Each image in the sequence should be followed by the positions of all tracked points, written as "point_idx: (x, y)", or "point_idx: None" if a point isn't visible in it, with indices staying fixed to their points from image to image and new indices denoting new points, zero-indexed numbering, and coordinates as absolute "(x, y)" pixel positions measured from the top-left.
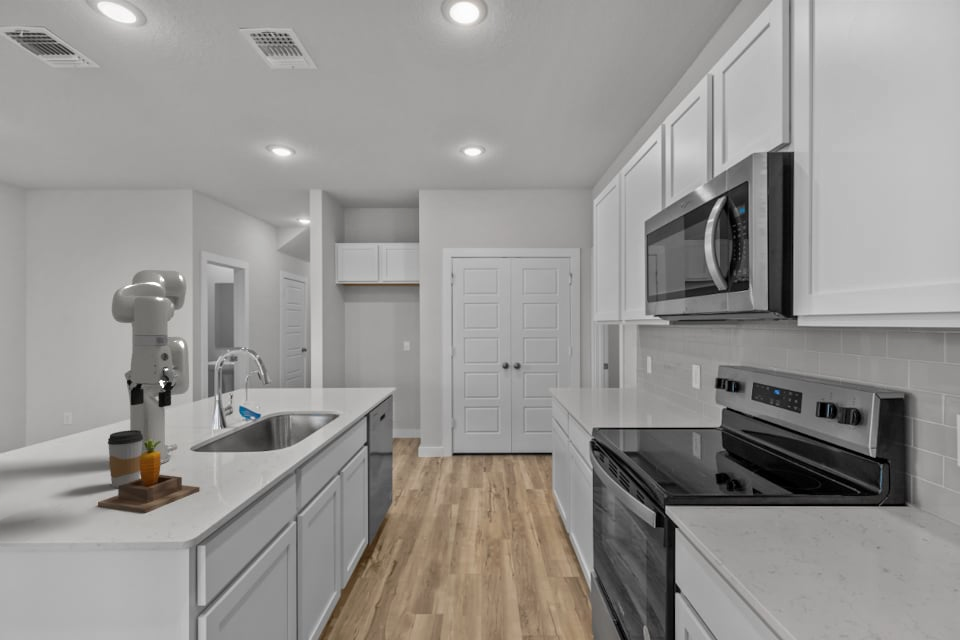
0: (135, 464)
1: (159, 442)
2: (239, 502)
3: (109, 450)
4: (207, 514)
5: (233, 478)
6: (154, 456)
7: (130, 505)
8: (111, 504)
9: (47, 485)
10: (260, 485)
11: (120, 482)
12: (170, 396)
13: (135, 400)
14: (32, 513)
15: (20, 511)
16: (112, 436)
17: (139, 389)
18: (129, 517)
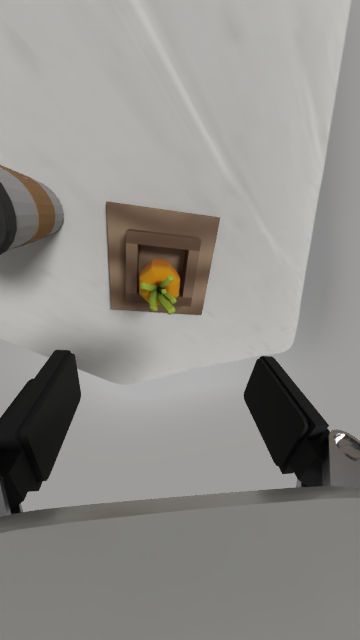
0: (46, 211)
1: (171, 279)
2: (308, 254)
3: None
4: (281, 299)
5: (244, 118)
6: (178, 294)
7: None
8: (139, 310)
9: None
10: (320, 162)
11: (51, 233)
12: (299, 393)
13: (71, 406)
14: (54, 341)
15: (28, 340)
16: None
17: (25, 459)
18: (191, 325)
